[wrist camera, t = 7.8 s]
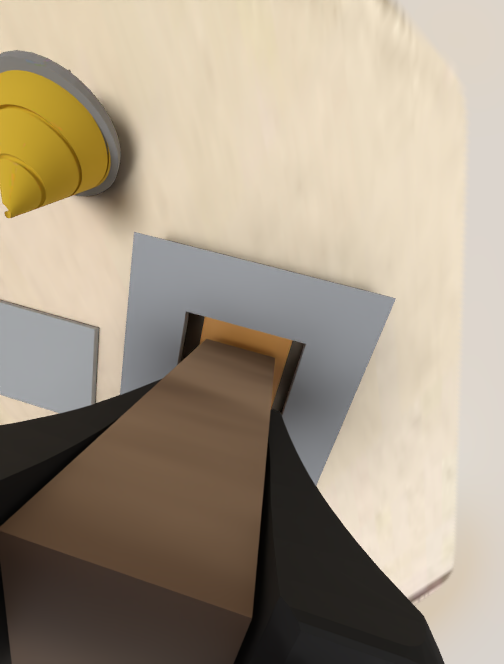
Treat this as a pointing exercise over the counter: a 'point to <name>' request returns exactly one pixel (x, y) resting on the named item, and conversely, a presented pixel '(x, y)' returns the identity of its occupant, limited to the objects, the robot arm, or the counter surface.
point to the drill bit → (51, 135)
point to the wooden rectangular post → (149, 527)
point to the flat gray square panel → (47, 359)
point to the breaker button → (250, 343)
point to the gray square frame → (258, 314)
